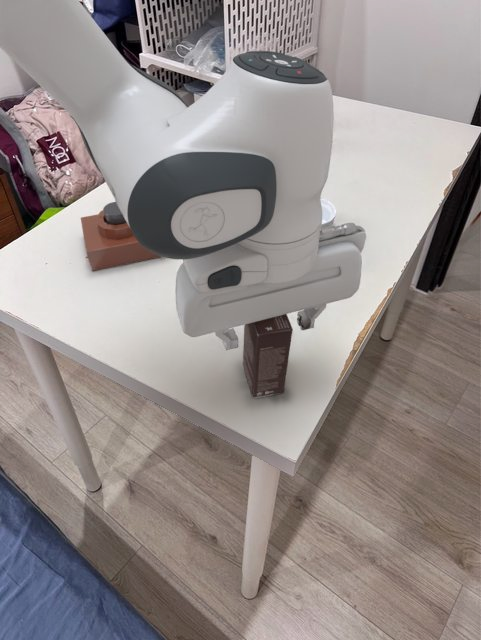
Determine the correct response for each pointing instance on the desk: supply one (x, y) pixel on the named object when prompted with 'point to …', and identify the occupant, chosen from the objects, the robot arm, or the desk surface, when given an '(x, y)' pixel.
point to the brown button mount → (111, 243)
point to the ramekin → (327, 213)
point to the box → (267, 355)
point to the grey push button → (113, 214)
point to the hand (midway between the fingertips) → (268, 335)
